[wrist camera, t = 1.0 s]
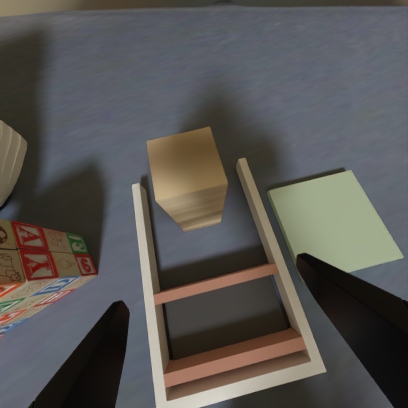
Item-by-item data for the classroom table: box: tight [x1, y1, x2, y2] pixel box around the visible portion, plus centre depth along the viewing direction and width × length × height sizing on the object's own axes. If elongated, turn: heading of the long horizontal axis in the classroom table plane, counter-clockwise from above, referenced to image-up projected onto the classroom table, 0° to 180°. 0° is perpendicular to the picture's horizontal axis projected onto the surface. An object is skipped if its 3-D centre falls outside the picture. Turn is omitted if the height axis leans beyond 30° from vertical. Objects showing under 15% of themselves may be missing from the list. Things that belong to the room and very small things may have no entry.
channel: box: [132, 158, 326, 408], centre depth 20 cm, size 24×16×2 cm, turn 14°
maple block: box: [146, 127, 228, 232], centre depth 18 cm, size 5×5×12 cm
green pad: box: [266, 170, 404, 283], centre depth 22 cm, size 12×12×1 cm
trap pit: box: [153, 263, 307, 388], centre depth 19 cm, size 8×14×2 cm, turn 104°
